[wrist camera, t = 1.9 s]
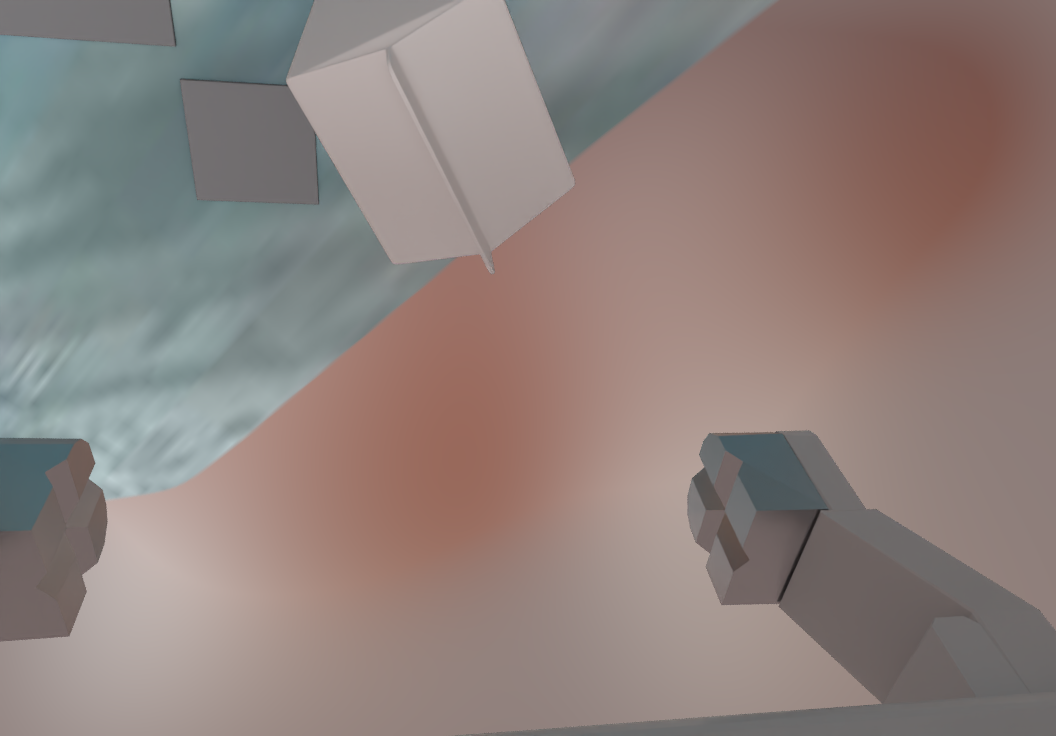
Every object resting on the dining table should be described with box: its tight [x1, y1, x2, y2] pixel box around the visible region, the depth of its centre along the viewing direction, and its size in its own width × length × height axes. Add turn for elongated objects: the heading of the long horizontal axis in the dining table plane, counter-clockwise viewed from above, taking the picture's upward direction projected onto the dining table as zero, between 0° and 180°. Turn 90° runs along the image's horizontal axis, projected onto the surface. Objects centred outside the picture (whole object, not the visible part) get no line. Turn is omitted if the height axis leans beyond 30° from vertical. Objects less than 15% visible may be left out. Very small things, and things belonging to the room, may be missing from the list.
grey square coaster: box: [180, 79, 319, 204], centre depth 40 cm, size 6×6×1 cm
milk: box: [286, 0, 575, 274], centre depth 28 cm, size 6×6×22 cm
